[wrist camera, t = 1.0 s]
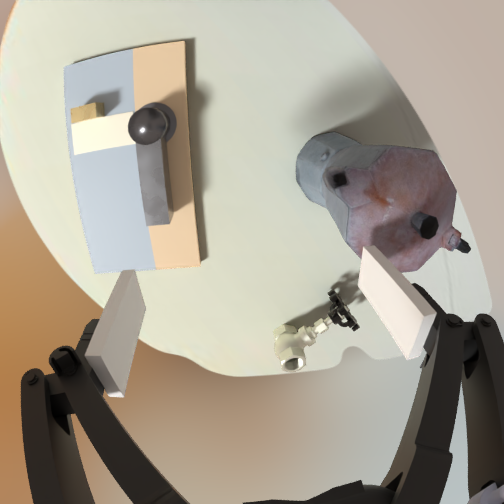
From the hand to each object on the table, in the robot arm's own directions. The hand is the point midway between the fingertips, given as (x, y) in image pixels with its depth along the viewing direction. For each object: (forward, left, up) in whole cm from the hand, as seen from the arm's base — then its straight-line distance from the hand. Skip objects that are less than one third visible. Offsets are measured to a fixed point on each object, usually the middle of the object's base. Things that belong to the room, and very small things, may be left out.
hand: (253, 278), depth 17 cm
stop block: (-11, -15, -18) cm, 26 cm away
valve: (+19, +9, -19) cm, 29 cm away
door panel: (-4, -12, -19) cm, 22 cm away
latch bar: (-4, -8, -17) cm, 20 cm away
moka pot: (-2, +12, -19) cm, 23 cm away
